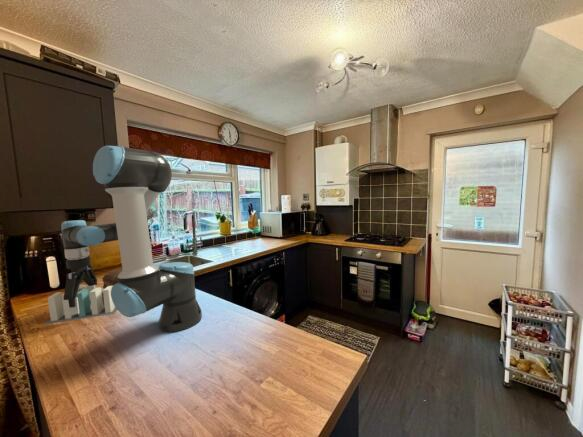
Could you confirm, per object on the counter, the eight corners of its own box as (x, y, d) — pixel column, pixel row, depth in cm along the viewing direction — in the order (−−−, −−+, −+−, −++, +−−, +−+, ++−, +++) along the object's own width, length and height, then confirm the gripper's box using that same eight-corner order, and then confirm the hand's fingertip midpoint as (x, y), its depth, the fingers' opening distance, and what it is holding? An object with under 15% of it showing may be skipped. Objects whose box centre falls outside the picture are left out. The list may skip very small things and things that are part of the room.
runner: (122, 305, 108) (121, 304, 108) (113, 314, 100) (113, 313, 100) (56, 314, 101) (56, 314, 101) (42, 325, 93) (41, 324, 93)
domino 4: (115, 307, 106) (113, 285, 105) (110, 312, 101) (108, 289, 100) (110, 307, 105) (107, 286, 104) (105, 313, 101) (102, 290, 100)
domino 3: (103, 308, 105) (100, 287, 104) (98, 314, 100) (95, 291, 99) (97, 309, 104) (95, 287, 103) (92, 315, 99) (89, 292, 98)
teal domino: (90, 310, 103) (88, 288, 102) (84, 316, 98) (81, 293, 98) (85, 311, 103) (82, 289, 102) (78, 317, 98) (75, 293, 97)
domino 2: (77, 312, 102) (75, 290, 101) (71, 318, 97) (68, 294, 96) (72, 313, 101) (69, 291, 100) (65, 319, 97) (62, 295, 96)
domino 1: (64, 314, 100) (61, 291, 100) (57, 320, 96) (53, 296, 95) (58, 315, 100) (55, 292, 99) (51, 321, 95) (47, 297, 94)
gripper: (71, 264, 87) (78, 319, 89) (102, 250, 111) (107, 293, 113) (45, 267, 85) (53, 323, 87) (83, 251, 109) (88, 296, 111)
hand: (84, 306), depth 100 cm, fingers open, 13 cm apart
